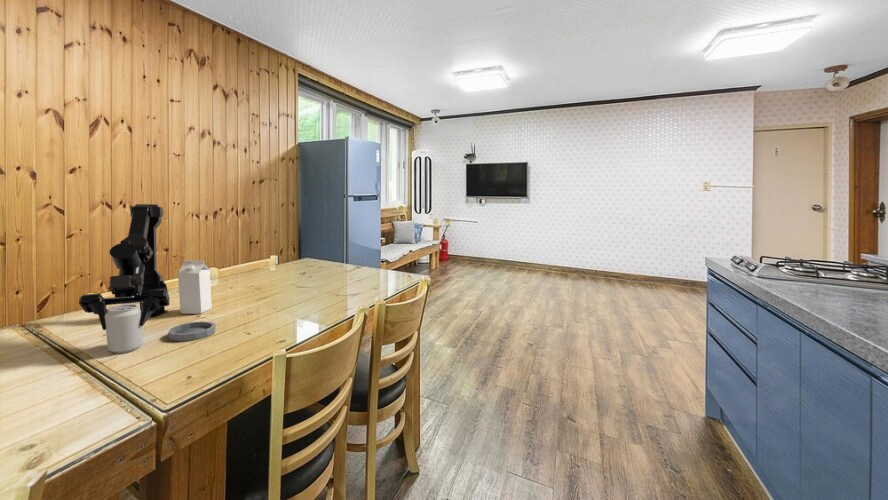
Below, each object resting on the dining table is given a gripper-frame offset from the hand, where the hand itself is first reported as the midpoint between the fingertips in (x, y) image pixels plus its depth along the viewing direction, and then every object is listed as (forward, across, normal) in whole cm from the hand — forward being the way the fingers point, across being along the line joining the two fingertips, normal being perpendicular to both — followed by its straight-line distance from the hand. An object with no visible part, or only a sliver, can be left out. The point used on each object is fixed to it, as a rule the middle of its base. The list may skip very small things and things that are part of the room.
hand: (123, 327), depth 99 cm
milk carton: (-19, +13, +28) cm, 37 cm away
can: (+4, 0, +6) cm, 7 cm away
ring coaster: (0, +15, +10) cm, 18 cm away
